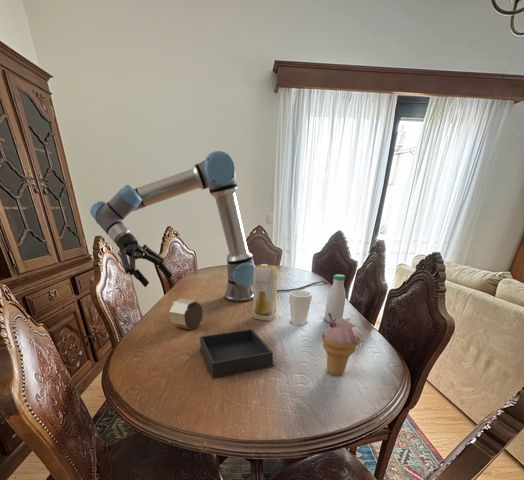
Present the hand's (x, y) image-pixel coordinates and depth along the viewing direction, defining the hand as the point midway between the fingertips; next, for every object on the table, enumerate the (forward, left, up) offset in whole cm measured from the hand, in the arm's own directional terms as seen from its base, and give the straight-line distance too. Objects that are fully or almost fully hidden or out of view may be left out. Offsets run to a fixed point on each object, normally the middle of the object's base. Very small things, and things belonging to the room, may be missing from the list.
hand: (159, 280), depth 116 cm
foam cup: (-54, +20, -18) cm, 61 cm away
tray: (-19, +40, -18) cm, 48 cm away
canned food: (-62, +38, -18) cm, 75 cm away
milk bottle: (-70, +23, -18) cm, 76 cm away
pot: (-8, +8, -12) cm, 17 cm away
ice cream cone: (-46, +60, -18) cm, 78 cm away
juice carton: (-42, +10, -18) cm, 47 cm away
